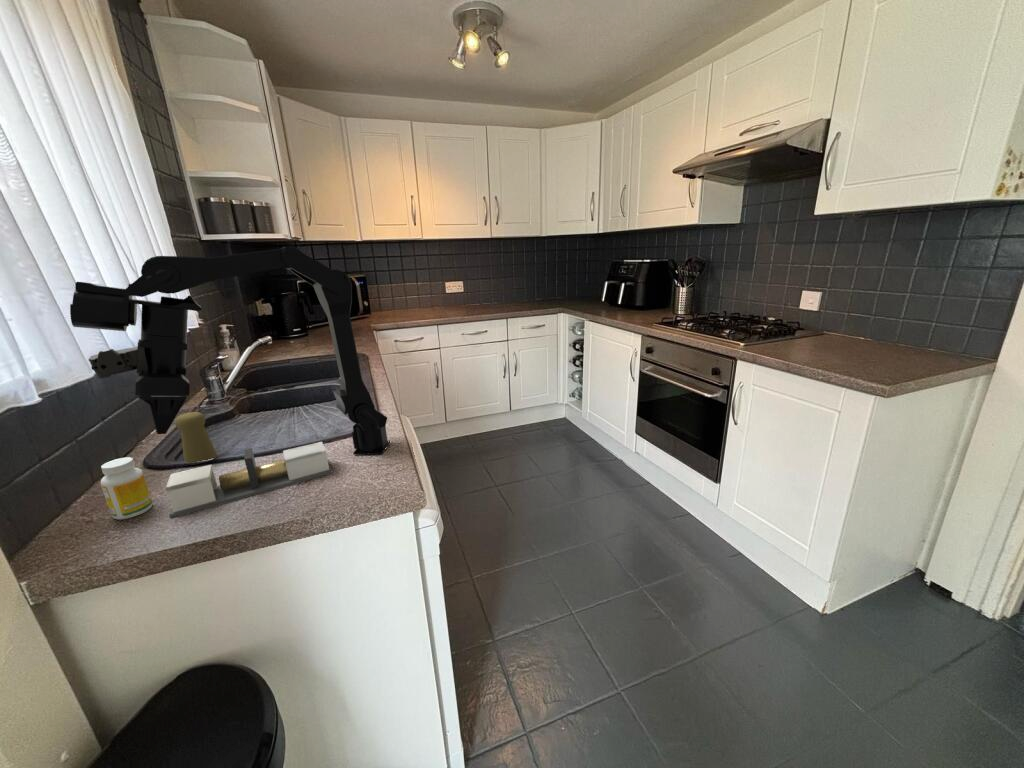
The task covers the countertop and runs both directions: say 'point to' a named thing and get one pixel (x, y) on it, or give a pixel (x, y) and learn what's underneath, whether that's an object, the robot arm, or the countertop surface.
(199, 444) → the cork
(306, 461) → the sleeve
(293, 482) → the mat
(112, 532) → the countertop surface
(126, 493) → the supplement bottle
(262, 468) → the bolt
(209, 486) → the socket
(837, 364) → the countertop surface
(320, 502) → the countertop surface
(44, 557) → the countertop surface
